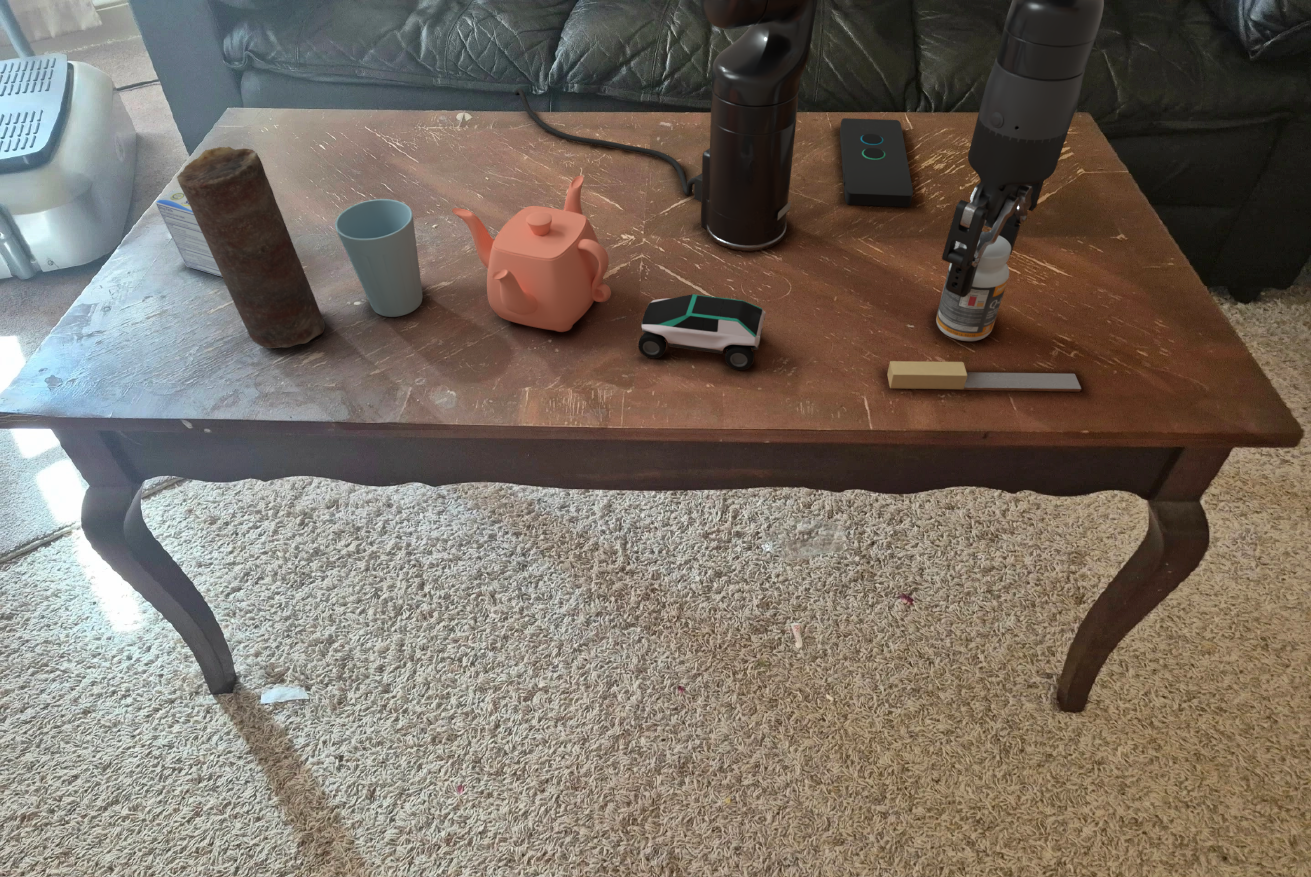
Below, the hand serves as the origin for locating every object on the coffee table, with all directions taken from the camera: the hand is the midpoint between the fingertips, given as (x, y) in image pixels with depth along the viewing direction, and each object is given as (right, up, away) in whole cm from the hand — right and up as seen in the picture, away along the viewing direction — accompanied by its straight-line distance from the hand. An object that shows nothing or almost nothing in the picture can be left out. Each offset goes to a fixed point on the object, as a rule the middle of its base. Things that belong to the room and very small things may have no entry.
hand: (978, 273), depth 87 cm
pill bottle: (0, -5, +4) cm, 7 cm away
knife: (0, -11, -2) cm, 11 cm away
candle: (-71, -6, +6) cm, 71 cm away
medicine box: (-82, +4, +15) cm, 83 cm away
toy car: (-27, -7, +3) cm, 28 cm away
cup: (-60, -2, +9) cm, 61 cm away
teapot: (-45, -2, +9) cm, 45 cm away
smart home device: (-4, +19, +28) cm, 34 cm away
